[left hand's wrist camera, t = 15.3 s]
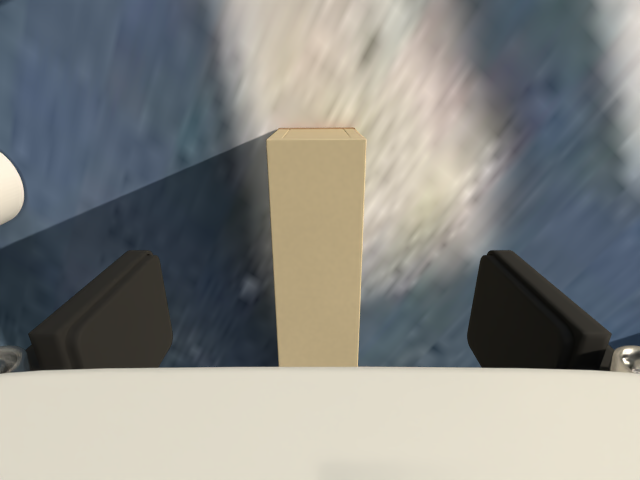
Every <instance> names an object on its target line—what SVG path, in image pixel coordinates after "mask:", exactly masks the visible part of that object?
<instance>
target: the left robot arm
mask: <svg viewBox="0 0 640 480" xmlns="http://www.w3.org/2000/svg"><path fill="white" fill-rule="evenodd" d="M28 335H29V337H30V340H31V343H32V345H31V346H30V347H29V348H27V349H26V350H24V349H23V348H21V347H18V346H0V480H640V346H622V347H619V348H617V349H616V350H614V349H613V348H611V347H610V346H609V345H608V343H609V340H610V337H611V335H612V334H611V333H610V332H609V331H608V330H607V329H605V328H604V327H603V326H602V325H601V324H599V323H598V322H597V321H596V320H595V319H593V318H592V317H591V316H590V315H589V314H587V313H586V312H585V311H584V310H583V309H581V308H580V307H579V306H578V305H577V304H575V303H574V302H573V301H572V300H571V299H569V298H568V297H567V296H566V295H565V294H563V293H562V292H561V291H560V290H559V289H557V288H556V287H555V286H554V285H553V284H551V283H550V282H549V281H548V280H547V279H545V278H544V277H543V276H542V275H541V274H539V273H538V272H537V271H536V270H535V269H533V268H532V267H531V266H530V265H529V264H527V263H526V262H525V261H524V260H523V259H521V258H520V257H519V256H518V255H517V254H515V253H514V252H513V251H511V250H492V251H489V252H488V254H487V255H483V256H482V258H481V260H480V265H479V271H478V276H477V282H476V288H475V293H474V299H473V304H472V310H471V316H470V321H469V327H468V333H467V339H468V344H469V346H470V348H471V350H472V351H473V353H474V355H475V357H476V358H477V360H478V362H479V363H480V365H481V367H482V368H439V367H196V368H158V367H159V365H160V363H161V362H162V360H163V358H164V357H165V355H166V353H167V351H168V350H169V348H170V346H171V344H172V339H173V333H172V327H171V321H170V316H169V310H168V304H167V299H166V293H165V288H164V282H163V276H162V271H161V265H160V260H159V258H158V256H157V255H153V254H152V252H151V251H148V250H129V251H127V252H126V253H125V254H123V255H122V256H121V257H120V258H119V259H117V260H116V261H115V262H114V263H113V264H111V265H110V266H109V267H108V268H107V269H105V270H104V271H103V272H102V273H101V274H99V275H98V276H97V277H96V278H95V279H93V280H92V281H91V282H90V283H89V284H87V285H86V286H85V287H84V288H83V289H81V290H80V291H79V292H78V293H77V294H75V295H74V296H73V297H72V298H71V299H69V300H68V301H67V302H66V303H65V304H63V305H62V306H61V307H60V308H59V309H57V310H56V311H55V312H54V313H53V314H51V315H50V316H49V317H48V318H47V319H45V320H44V321H43V322H42V323H41V324H39V325H38V326H37V327H36V328H35V329H33V330H32V331H31V332H30V333H29V334H28Z"/></svg>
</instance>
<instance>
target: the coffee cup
mask: <svg viewBox="0 0 640 480" xmlns="http://www.w3.org/2000/svg"><path fill="white" fill-rule="evenodd" d="M23 201H24V190H23V185H22V181H21V179H20V176H19V174H18V172H17V171H16V169H15V167H14V166H13V165H12V163H11V162H10V161H9V160H8V159H7V158H6V157H5V156H4V155H3V154H2V153H1V152H0V225H2V224H4V223H6V222H7V221H9V220H11V219H13V218H14V217H15V216H16V215H17V214H18V213H19V211H20V210H21V208H22V205H23Z"/></svg>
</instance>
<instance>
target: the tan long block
mask: <svg viewBox="0 0 640 480" xmlns="http://www.w3.org/2000/svg"><path fill="white" fill-rule="evenodd" d="M266 148H267V166H268V183H269V201H270V219H271V237H272V255H273V272H274V290H275V308H276V326H277V343H278V361H279V367H358V344H359V318H360V293H361V267H362V241H363V216H364V190H365V164H366V139H365V138H364V137H363V136H362V135H361V134H360V133H359V132H357V131H356V130H355V128H279V129H278V130H277V131H276V132H275V133H274V134H272V135H271V136H270V137H269V138H268V139H267V140H266Z"/></svg>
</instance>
